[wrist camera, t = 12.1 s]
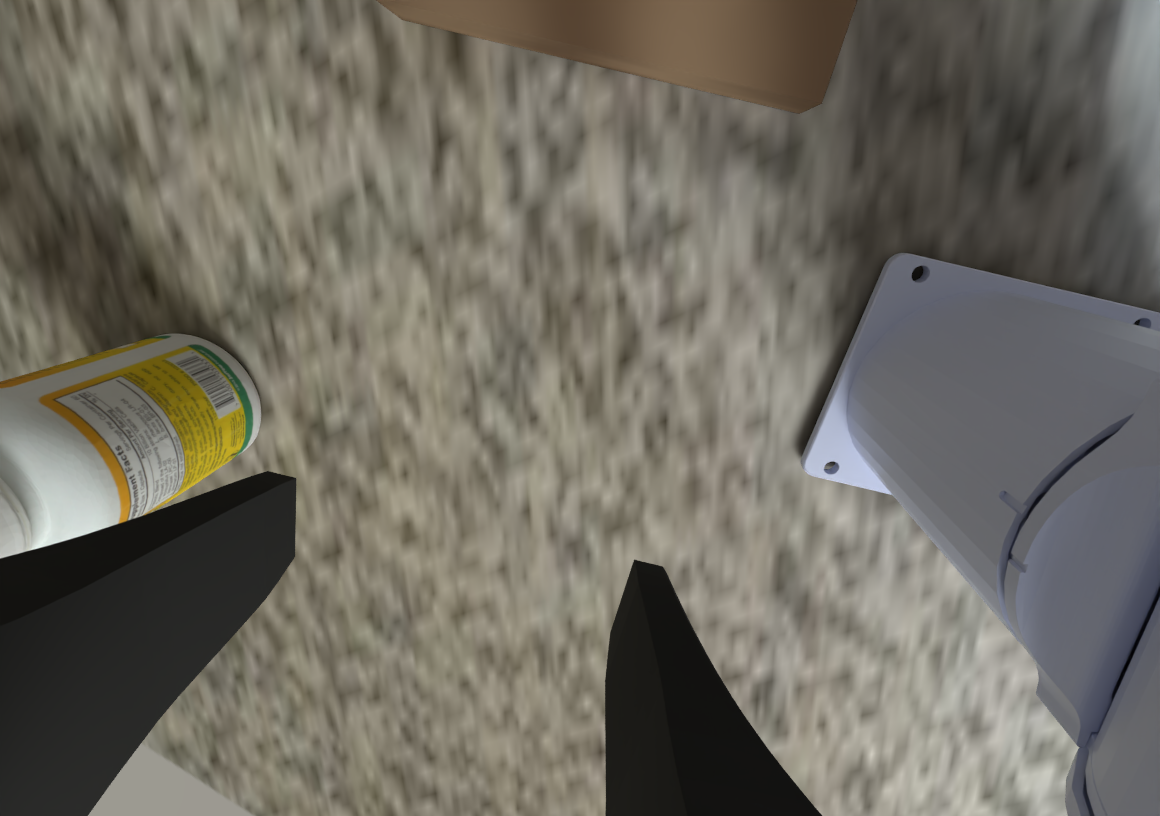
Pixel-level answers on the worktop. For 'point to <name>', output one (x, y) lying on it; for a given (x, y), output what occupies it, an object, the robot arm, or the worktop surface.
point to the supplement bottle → (117, 436)
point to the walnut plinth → (669, 39)
